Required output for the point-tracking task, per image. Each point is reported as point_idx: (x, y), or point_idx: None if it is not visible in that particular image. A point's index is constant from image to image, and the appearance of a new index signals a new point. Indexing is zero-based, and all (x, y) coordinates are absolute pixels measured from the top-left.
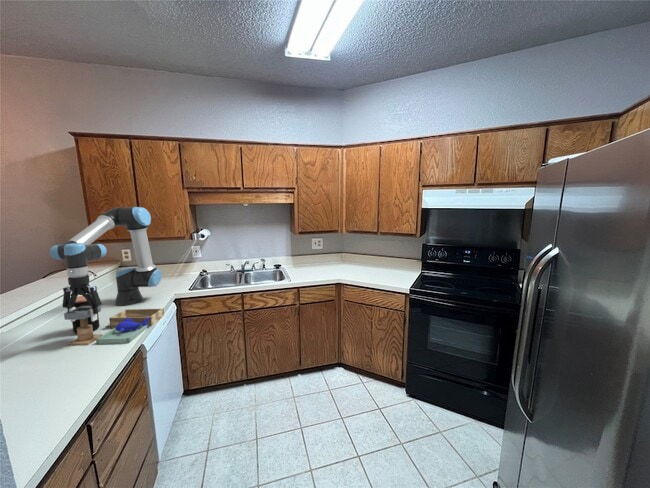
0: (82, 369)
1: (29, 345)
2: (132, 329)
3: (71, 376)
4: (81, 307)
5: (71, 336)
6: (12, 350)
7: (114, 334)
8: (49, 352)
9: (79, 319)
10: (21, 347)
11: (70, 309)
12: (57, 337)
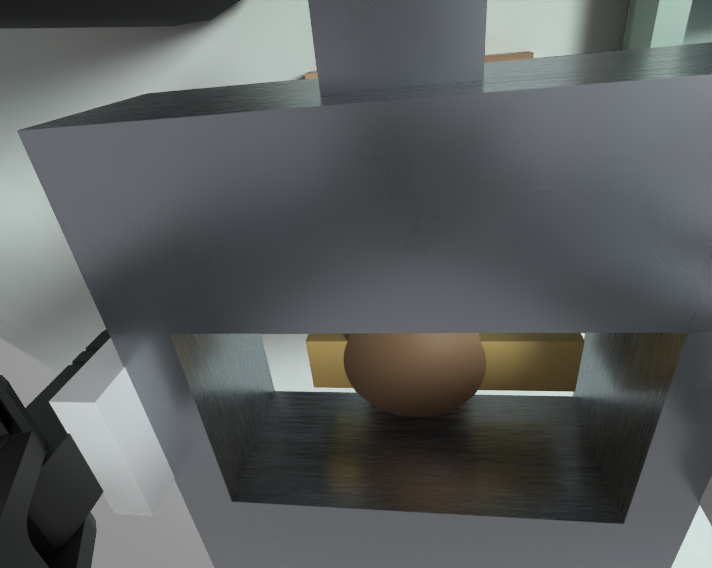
0: (703, 526)
1: (15, 252)
2: None
3: (679, 565)
4: (211, 300)
5: (161, 70)
6: (5, 317)
7: (695, 26)
8: (296, 352)
9: (107, 12)
10: (3, 280)
11: (153, 501)
12: (47, 99)
